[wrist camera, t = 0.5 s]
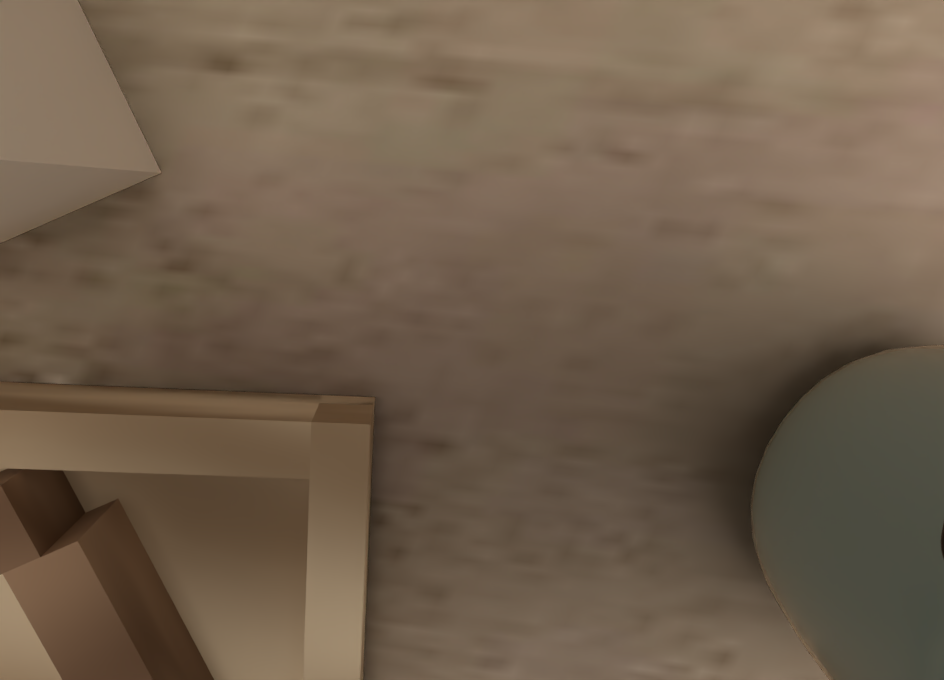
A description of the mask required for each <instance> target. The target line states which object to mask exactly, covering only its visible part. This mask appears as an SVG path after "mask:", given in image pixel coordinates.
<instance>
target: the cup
mask: <svg viewBox="0 0 944 680" xmlns="http://www.w3.org/2000/svg"><path fill="white" fill-rule="evenodd" d="M943 522H944V345H928V346H916V347H906V348H897V349H887V350H884V351H881V352H878V353H875V354H872V355H869V356H866V357H864V358H861V359H858V360H855V361H852V362H849V363H847V364H846V365H844V366H842V367H841V368H839V369H837V370H836V371H834V372H832V373H831V374H829V375H827V376H826V377H824V378H823V379H822V380H820V381H819V382H818V383H817V384H816V385H815V386H814V387H812V388H811V389H810V390H809V391H808V392H807V393H806V394H805V395H803V396H802V397H801V398H800V399H799V400H798V402H797V403H796V404H795V405H794V407H793V408H792V409H791V410H790V411H789V413H788V414H787V415H786V416H785V418H784V419H783V420H782V421H781V423H780V424H779V426H778V428H777V429H776V431H775V433H774V435H773V436H772V438H771V440H770V441H769V443H768V445H767V447H766V449H765V451H764V454H763V456H762V459H761V462H760V464H759V467H758V470H757V472H756V475H755V480H754V486H753V491H752V497H751V526H752V537H753V543H754V546H755V549H756V553H757V556H758V559H759V563H760V566H761V569H762V571H763V574H764V577H765V579H766V582H767V584H768V586H769V588H770V590H771V592H772V594H773V595H774V597H775V599H776V601H777V603H778V604H779V606H780V608H781V609H782V611H783V613H784V614H785V616H786V618H787V620H788V621H789V623H790V625H791V626H792V628H793V630H794V631H795V633H796V634H797V636H798V637H799V639H800V640H801V642H802V643H803V645H804V646H805V648H806V649H807V651H808V652H809V654H810V655H811V656H812V658H813V659H814V660H815V662H816V663H817V664H818V666H819V667H820V668H821V670H822V671H823V672H824V674H825V675H826V676H827V678H828V679H829V680H944V559H943V556H942V551H941V533H942V527H943Z"/></svg>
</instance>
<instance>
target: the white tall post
mask: <svg viewBox="0 0 944 680" xmlns="http://www.w3.org/2000/svg"><path fill="white" fill-rule="evenodd" d="M160 173H161V171H160V169H159V167H158V165H157V163H156V161H155V158H154V156H153V154H152V152H151V150H150V148H149V146H148V144H147V142H146V140H145V138H144V136H143V134H142V132H141V130H140V128H139V126H138V123H137V121H136V119H135V117H134V115H133V113H132V111H131V109H130V107H129V105H128V103H127V101H126V99H125V97H124V95H123V93H122V90H121V88H120V86H119V84H118V82H117V80H116V78H115V76H114V74H113V72H112V70H111V68H110V66H109V64H108V62H107V60H106V58H105V55H104V53H103V51H102V49H101V47H100V45H99V43H98V41H97V39H96V37H95V35H94V33H93V31H92V29H91V27H90V25H89V23H88V20H87V18H86V16H85V14H84V12H83V10H82V8H81V6H80V4H79V2H78V0H0V243H2V242H4V241H7V240H9V239H11V238H14V237H16V236H18V235H20V234H23V233H25V232H27V231H30V230H32V229H34V228H36V227H39V226H41V225H43V224H46V223H48V222H50V221H52V220H55V219H57V218H59V217H62V216H64V215H66V214H69V213H71V212H73V211H75V210H78V209H80V208H82V207H85V206H87V205H89V204H91V203H94V202H96V201H98V200H101V199H103V198H105V197H107V196H110V195H112V194H114V193H117V192H119V191H121V190H123V189H126V188H128V187H130V186H133V185H135V184H137V183H139V182H142V181H144V180H146V179H149V178H151V177H153V176H155V175H158V174H160Z"/></svg>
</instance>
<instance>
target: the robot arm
mask: <svg viewBox="0 0 944 680" xmlns="http://www.w3.org/2000/svg"><path fill="white" fill-rule="evenodd" d="M941 551H942V556H943V559H944V522H943V527H942V533H941Z"/></svg>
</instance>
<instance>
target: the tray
mask: <svg viewBox="0 0 944 680" xmlns="http://www.w3.org/2000/svg"><path fill="white" fill-rule="evenodd" d="M374 412H375V397H357V396H333V395H309V394H285V393H261V392H237V391H213V390H188V389H164V388H140V387H116V386H92V385H68V384H44V383H20V382H0V680H363V672H364V649H365V625H366V601H367V578H368V554H369V530H370V507H371V483H372V459H373V436H374Z"/></svg>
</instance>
